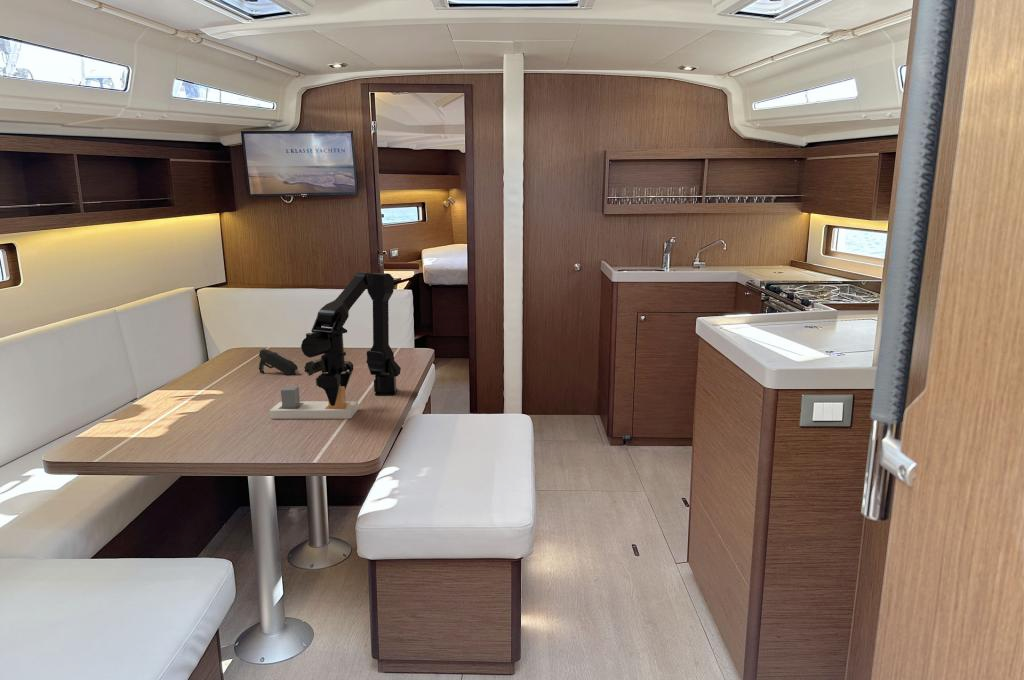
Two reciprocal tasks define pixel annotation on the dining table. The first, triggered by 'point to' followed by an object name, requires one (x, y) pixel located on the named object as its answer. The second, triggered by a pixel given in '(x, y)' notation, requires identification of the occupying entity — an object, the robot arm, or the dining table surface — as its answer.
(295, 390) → the gray plug
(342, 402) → the orange plug
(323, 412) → the white slotted frame
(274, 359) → the gun
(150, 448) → the dining table surface
